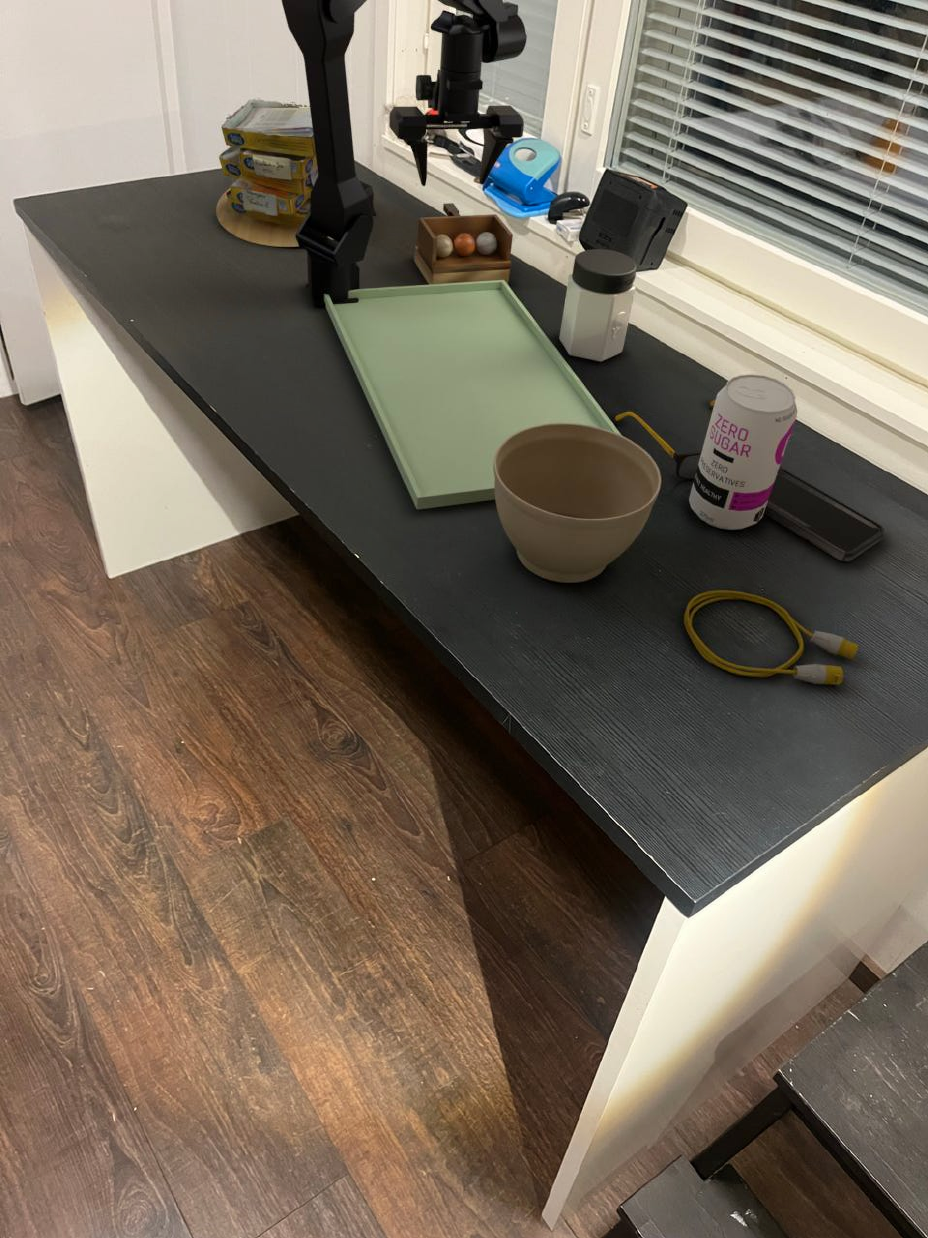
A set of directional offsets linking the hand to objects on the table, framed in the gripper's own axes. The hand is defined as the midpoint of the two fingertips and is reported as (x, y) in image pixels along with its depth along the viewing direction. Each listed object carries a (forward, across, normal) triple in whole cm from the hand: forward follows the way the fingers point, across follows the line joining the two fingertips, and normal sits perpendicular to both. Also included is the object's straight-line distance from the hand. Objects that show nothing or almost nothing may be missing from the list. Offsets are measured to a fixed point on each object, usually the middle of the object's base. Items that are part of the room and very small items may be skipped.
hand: (452, 183), depth 142 cm
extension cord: (+11, -4, +89) cm, 90 cm away
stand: (+11, 0, +6) cm, 13 cm away
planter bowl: (+11, +10, +72) cm, 74 cm away
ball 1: (+6, +3, +7) cm, 10 cm away
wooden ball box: (+8, 0, +5) cm, 10 cm away
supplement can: (+11, -11, +69) cm, 71 cm away
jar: (+11, -11, +31) cm, 35 cm away
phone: (+11, -20, +72) cm, 76 cm away
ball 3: (+6, -4, +7) cm, 10 cm away
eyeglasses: (+11, -14, +56) cm, 59 cm away
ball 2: (+6, 0, +7) cm, 9 cm away
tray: (+11, +9, +38) cm, 40 cm away
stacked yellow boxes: (+11, +21, -18) cm, 29 cm away
